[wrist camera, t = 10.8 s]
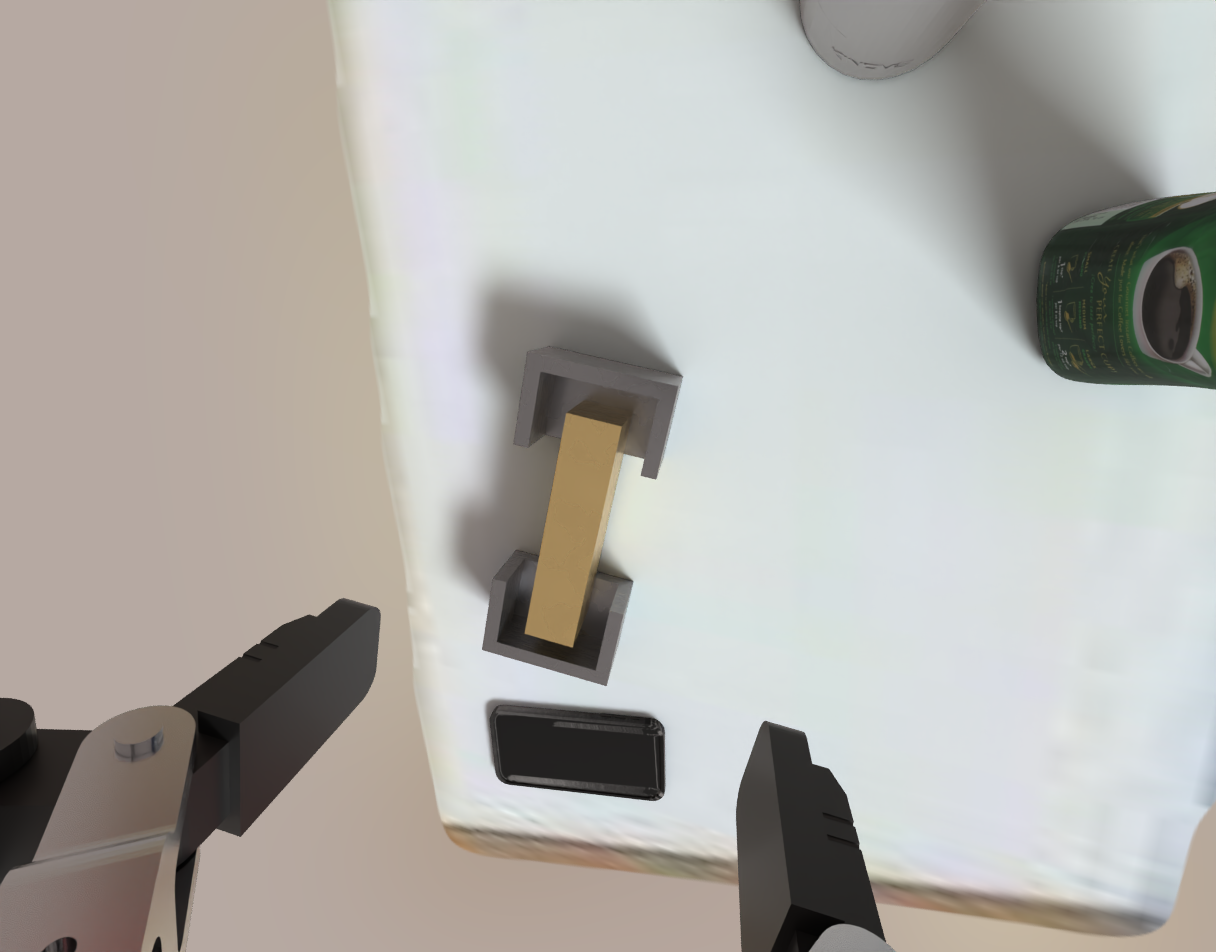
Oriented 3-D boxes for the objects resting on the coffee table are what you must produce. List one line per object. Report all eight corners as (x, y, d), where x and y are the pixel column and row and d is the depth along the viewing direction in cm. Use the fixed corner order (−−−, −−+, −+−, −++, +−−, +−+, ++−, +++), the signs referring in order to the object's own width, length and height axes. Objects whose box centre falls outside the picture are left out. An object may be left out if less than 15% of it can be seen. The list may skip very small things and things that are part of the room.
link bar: (583, 399, 40) (566, 412, 35) (632, 411, 39) (621, 426, 35) (544, 598, 45) (524, 633, 40) (587, 611, 44) (572, 647, 40)
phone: (664, 802, 49) (496, 783, 51) (665, 791, 50) (501, 773, 52) (663, 724, 46) (488, 708, 49) (664, 715, 47) (492, 700, 50)
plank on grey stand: (549, 346, 40) (527, 352, 35) (682, 376, 39) (678, 386, 34) (505, 615, 47) (482, 649, 42) (617, 646, 46) (606, 686, 41)
